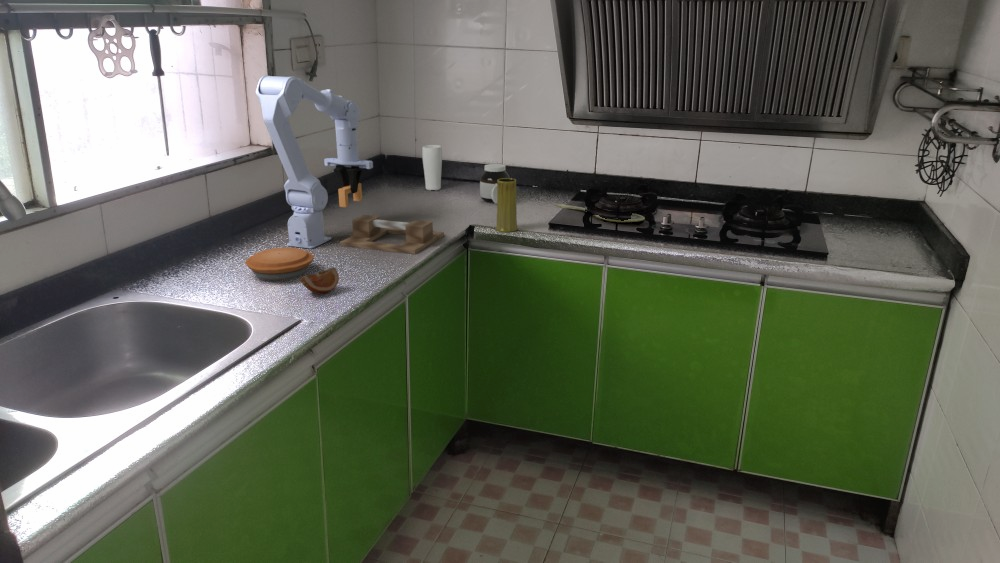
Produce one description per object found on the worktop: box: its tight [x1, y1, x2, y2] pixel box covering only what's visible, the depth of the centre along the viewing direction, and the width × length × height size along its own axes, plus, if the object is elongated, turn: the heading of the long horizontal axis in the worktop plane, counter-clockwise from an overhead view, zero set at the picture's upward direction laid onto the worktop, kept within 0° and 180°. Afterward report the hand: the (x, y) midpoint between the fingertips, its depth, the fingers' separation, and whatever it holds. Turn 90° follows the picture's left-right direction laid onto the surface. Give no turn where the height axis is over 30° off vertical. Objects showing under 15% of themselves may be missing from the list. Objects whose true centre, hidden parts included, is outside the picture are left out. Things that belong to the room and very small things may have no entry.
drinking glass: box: [421, 144, 443, 191], centre depth 257 cm, size 7×7×15 cm
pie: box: [244, 247, 314, 282], centre depth 174 cm, size 15×16×5 cm
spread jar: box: [479, 163, 510, 205], centre depth 239 cm, size 12×11×12 cm
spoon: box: [555, 203, 645, 223], centre depth 225 cm, size 35×11×2 cm, turn 40°
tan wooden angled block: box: [337, 182, 363, 208], centre depth 211 cm, size 9×2×5 cm, turn 160°
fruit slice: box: [300, 267, 340, 295], centre depth 162 cm, size 8×7×5 cm
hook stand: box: [339, 214, 445, 255], centre depth 199 cm, size 22×18×6 cm
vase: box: [495, 177, 518, 233], centre depth 208 cm, size 6×6×14 cm
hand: (350, 192), depth 210 cm, fingers closed on tan wooden angled block, 2 cm apart
